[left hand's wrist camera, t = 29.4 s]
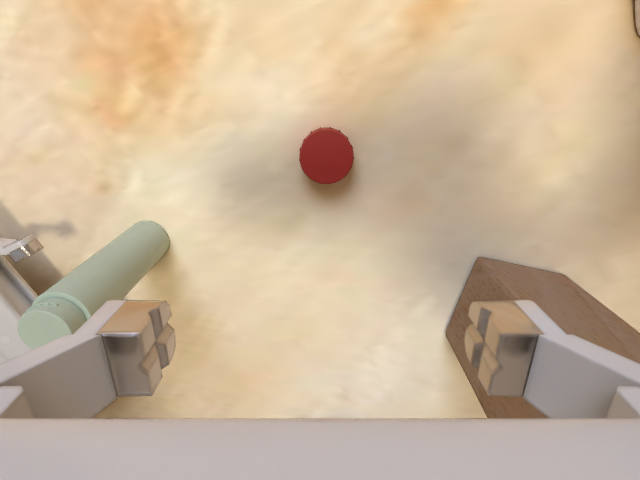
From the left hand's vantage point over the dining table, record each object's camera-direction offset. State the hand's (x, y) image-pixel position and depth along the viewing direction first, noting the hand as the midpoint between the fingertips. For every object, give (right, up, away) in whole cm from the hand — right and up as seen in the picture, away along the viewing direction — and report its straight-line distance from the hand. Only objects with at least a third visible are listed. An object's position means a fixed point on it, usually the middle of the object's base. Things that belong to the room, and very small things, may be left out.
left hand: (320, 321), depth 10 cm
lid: (+1, +10, +24) cm, 26 cm away
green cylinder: (-17, +2, +28) cm, 33 cm away
